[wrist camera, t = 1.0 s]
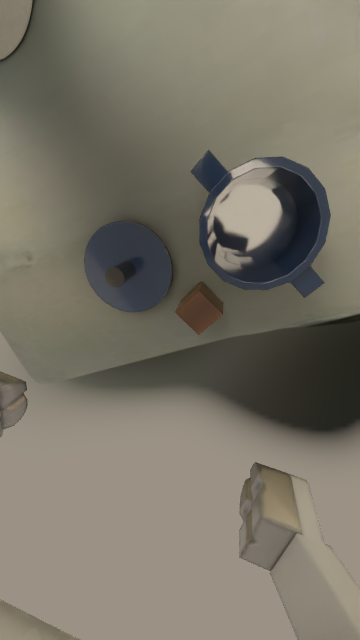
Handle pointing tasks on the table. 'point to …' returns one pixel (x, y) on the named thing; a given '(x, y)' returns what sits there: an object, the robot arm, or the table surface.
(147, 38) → the table surface
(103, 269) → the lid
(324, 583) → the robot arm
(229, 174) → the pot
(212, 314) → the block
